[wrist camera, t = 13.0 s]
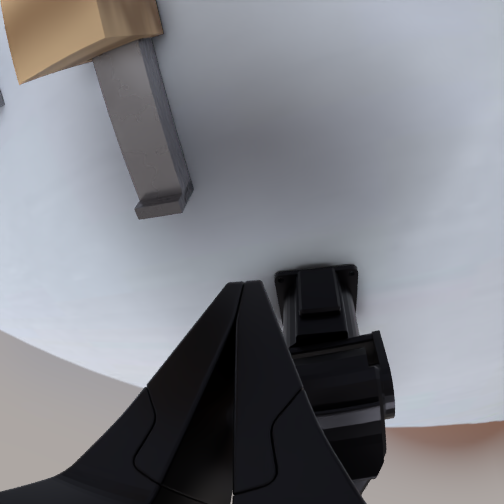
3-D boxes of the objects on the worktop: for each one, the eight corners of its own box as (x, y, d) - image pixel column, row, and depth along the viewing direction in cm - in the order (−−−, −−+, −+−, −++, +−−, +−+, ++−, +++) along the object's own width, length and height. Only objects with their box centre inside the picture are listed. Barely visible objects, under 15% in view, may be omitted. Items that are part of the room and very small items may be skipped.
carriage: (163, 33, 14) (105, 37, 9) (90, 61, 15) (19, 84, 10) (146, -37, 11) (84, -61, 6) (75, -4, 12) (0, -2, 7)
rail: (193, 189, 21) (182, 213, 18) (153, 196, 21) (138, 219, 19) (131, -48, 11) (107, -58, 8) (89, -29, 11) (62, -33, 9)
